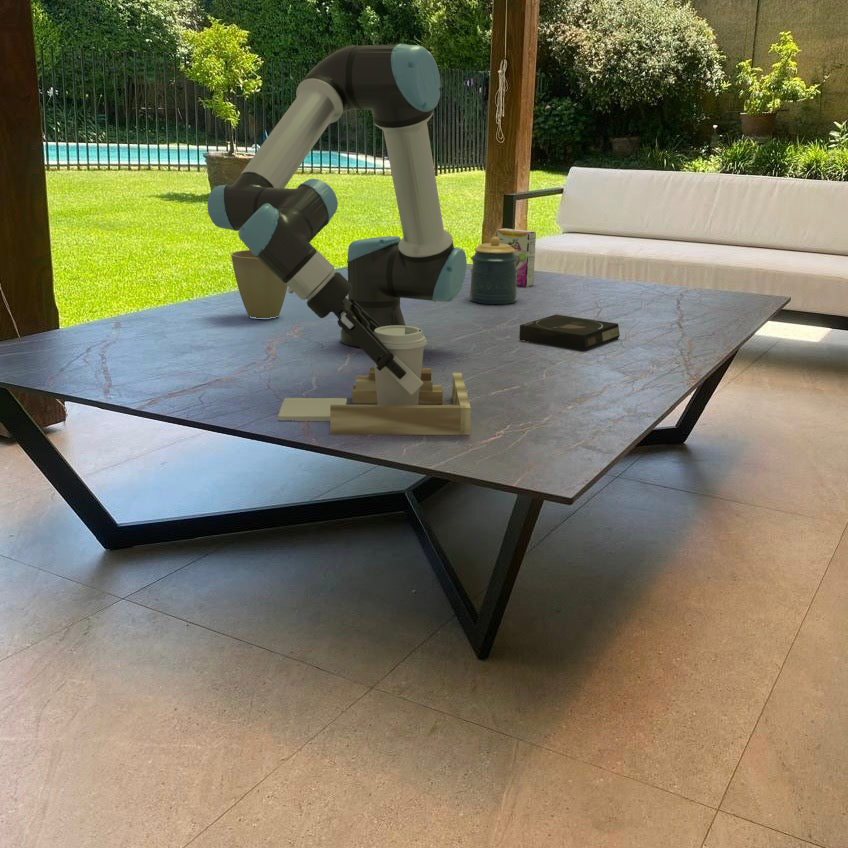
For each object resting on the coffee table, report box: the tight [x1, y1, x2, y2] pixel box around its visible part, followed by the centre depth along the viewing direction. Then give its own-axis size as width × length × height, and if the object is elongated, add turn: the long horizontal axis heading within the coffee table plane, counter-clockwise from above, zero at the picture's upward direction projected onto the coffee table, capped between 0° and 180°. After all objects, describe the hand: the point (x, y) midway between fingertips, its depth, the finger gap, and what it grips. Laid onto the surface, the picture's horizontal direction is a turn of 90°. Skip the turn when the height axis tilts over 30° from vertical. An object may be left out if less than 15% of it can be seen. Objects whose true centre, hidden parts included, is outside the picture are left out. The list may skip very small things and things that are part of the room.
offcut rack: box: [329, 372, 472, 436], centre depth 166 cm, size 22×22×4 cm
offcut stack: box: [351, 367, 444, 405], centre depth 175 cm, size 4×16×5 cm, turn 92°
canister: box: [469, 236, 518, 305], centre depth 267 cm, size 13×13×18 cm
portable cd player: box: [518, 313, 621, 352], centre depth 224 cm, size 16×17×4 cm
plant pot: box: [230, 249, 288, 318], centre depth 242 cm, size 15×15×16 cm
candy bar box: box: [496, 228, 537, 288], centre depth 293 cm, size 11×5×16 cm, turn 58°
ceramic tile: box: [277, 397, 348, 422], centre depth 168 cm, size 11×11×1 cm
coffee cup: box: [373, 325, 428, 405], centre depth 163 cm, size 10×10×15 cm
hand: (416, 380), depth 164 cm, fingers closed on coffee cup, 9 cm apart
